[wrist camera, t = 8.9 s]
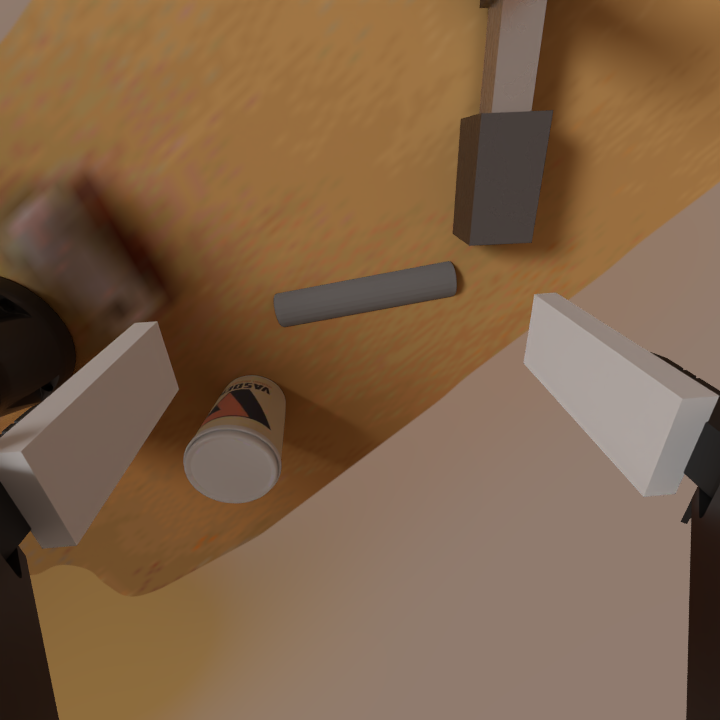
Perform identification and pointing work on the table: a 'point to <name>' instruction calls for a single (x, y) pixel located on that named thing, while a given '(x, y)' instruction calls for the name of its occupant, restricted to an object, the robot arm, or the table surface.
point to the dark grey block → (500, 176)
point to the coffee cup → (239, 442)
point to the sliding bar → (511, 54)
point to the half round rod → (366, 294)
